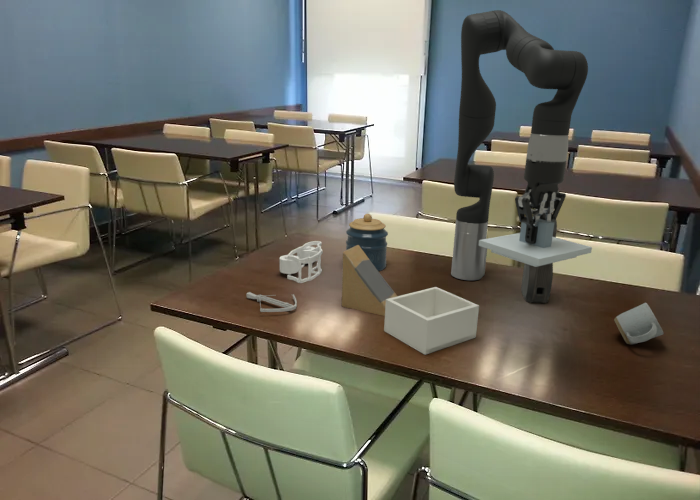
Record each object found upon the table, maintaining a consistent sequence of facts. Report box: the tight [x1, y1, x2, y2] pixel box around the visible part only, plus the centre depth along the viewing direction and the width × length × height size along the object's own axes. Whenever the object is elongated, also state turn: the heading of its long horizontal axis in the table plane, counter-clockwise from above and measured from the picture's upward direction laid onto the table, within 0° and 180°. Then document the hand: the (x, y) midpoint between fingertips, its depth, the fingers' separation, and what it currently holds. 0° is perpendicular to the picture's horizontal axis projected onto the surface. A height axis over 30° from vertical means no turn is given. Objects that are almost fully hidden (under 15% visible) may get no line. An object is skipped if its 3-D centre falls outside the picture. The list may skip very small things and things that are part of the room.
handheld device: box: [520, 213, 558, 304], centre depth 148 cm, size 6×15×25 cm, turn 176°
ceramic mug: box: [613, 302, 664, 345], centre depth 123 cm, size 11×8×8 cm
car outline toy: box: [279, 240, 324, 284], centre depth 166 cm, size 20×11×7 cm, turn 157°
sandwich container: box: [341, 245, 398, 317], centre depth 140 cm, size 9×15×15 cm, turn 62°
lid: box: [479, 216, 593, 267], centre depth 112 cm, size 17×15×7 cm
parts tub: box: [383, 286, 480, 356], centre depth 126 cm, size 16×14×8 cm
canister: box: [345, 213, 389, 272], centre depth 169 cm, size 13×13×18 cm
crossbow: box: [246, 291, 298, 313], centre depth 142 cm, size 16×13×2 cm
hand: (535, 241), depth 112 cm, fingers closed on lid, 2 cm apart
